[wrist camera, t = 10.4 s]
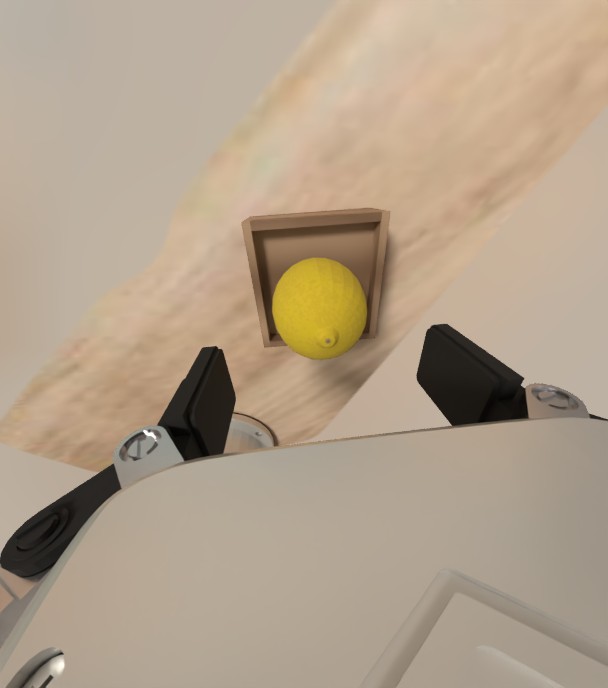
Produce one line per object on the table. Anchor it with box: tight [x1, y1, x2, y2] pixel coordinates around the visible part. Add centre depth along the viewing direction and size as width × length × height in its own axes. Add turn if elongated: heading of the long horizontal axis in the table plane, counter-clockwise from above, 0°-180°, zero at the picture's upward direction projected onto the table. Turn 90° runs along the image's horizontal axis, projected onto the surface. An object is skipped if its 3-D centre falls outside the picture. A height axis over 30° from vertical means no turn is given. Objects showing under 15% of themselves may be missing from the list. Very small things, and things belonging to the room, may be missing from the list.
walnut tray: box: [241, 208, 390, 348], centre depth 18 cm, size 9×9×4 cm
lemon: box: [272, 258, 367, 360], centre depth 14 cm, size 6×6×8 cm
